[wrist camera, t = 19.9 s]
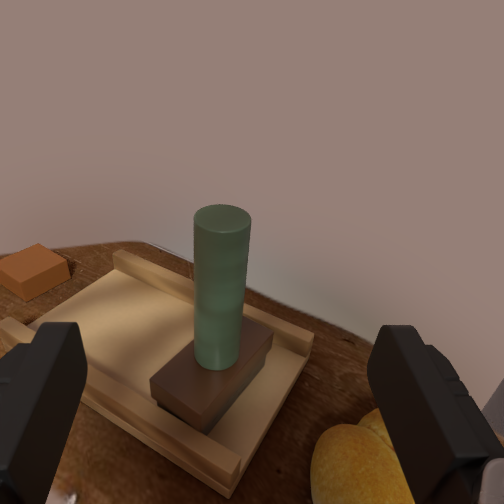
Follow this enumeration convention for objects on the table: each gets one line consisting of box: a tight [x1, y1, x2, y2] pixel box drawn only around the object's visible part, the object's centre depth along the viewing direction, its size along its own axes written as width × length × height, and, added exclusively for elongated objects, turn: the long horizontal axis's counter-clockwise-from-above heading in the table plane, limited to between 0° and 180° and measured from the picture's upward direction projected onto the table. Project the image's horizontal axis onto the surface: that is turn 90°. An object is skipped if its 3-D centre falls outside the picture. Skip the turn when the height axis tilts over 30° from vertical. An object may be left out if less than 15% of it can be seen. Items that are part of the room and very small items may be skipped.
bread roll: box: [310, 408, 415, 504], centre depth 19 cm, size 8×9×4 cm
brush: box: [149, 204, 274, 436], centre depth 21 cm, size 4×7×12 cm, turn 147°
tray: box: [0, 249, 314, 499], centre depth 26 cm, size 18×11×3 cm, turn 61°
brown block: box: [0, 244, 71, 302], centre depth 32 cm, size 4×4×2 cm
